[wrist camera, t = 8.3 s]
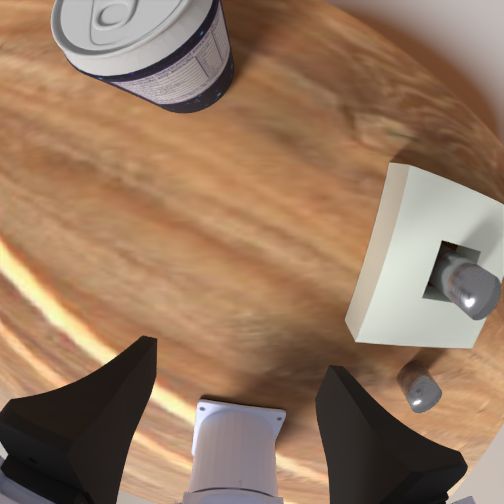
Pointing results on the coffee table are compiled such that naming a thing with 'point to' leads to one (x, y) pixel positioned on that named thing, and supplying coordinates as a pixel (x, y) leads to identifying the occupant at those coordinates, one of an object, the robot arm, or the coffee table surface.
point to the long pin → (465, 283)
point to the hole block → (422, 260)
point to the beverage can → (150, 48)
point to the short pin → (418, 387)
